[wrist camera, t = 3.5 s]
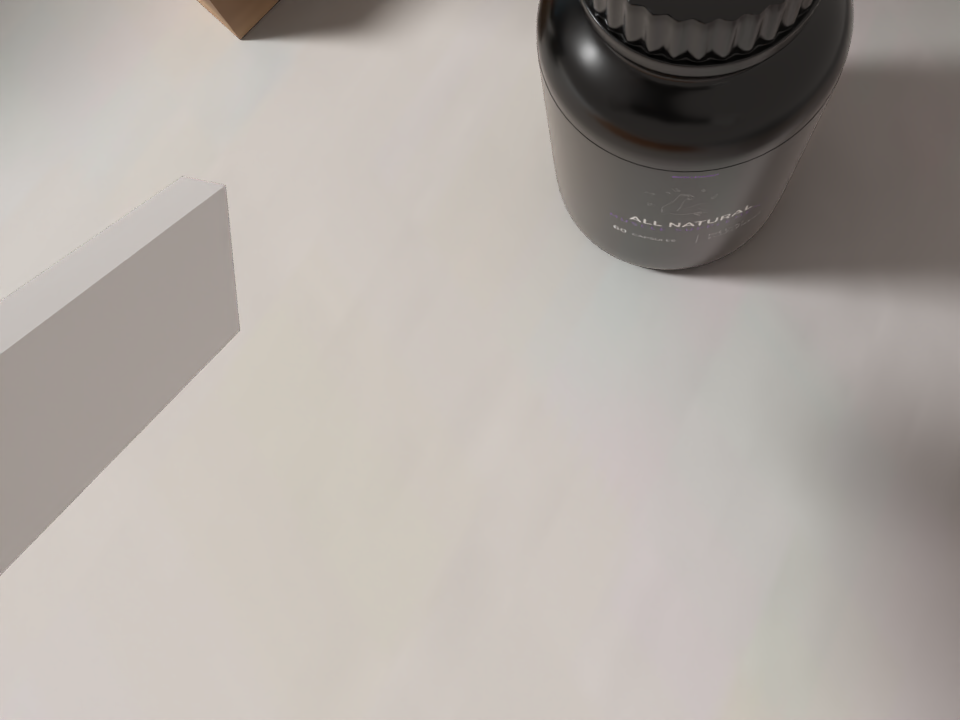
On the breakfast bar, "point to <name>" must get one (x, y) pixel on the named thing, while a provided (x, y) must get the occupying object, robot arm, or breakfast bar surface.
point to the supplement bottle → (683, 115)
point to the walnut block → (238, 13)
